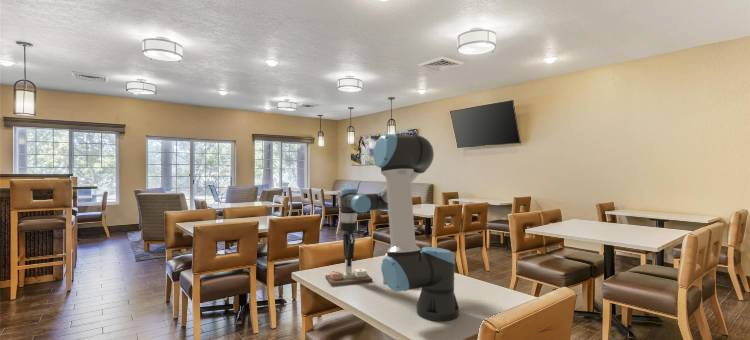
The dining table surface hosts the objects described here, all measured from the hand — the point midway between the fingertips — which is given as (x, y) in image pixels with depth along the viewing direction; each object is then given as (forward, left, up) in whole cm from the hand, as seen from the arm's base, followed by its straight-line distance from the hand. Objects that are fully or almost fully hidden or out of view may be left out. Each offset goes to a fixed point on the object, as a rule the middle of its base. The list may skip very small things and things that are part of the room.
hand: (348, 272), depth 173 cm
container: (-8, -19, -4) cm, 21 cm away
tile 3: (0, +6, -2) cm, 6 cm away
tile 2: (0, 0, -3) cm, 3 cm away
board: (0, 0, -4) cm, 4 cm away
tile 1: (0, -6, -2) cm, 6 cm away
